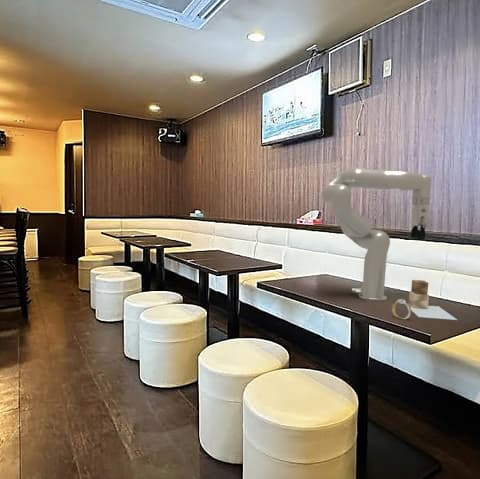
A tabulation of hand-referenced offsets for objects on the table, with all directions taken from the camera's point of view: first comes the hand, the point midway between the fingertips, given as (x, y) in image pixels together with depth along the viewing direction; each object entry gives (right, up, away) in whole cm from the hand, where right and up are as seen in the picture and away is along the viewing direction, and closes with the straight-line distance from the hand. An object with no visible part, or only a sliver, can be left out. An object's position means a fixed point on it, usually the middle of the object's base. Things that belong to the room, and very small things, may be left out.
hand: (417, 238), depth 185 cm
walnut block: (-8, -23, -19) cm, 31 cm away
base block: (-8, -29, -19) cm, 35 cm away
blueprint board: (-7, -31, -25) cm, 40 cm away
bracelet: (-23, -31, -37) cm, 53 cm away
